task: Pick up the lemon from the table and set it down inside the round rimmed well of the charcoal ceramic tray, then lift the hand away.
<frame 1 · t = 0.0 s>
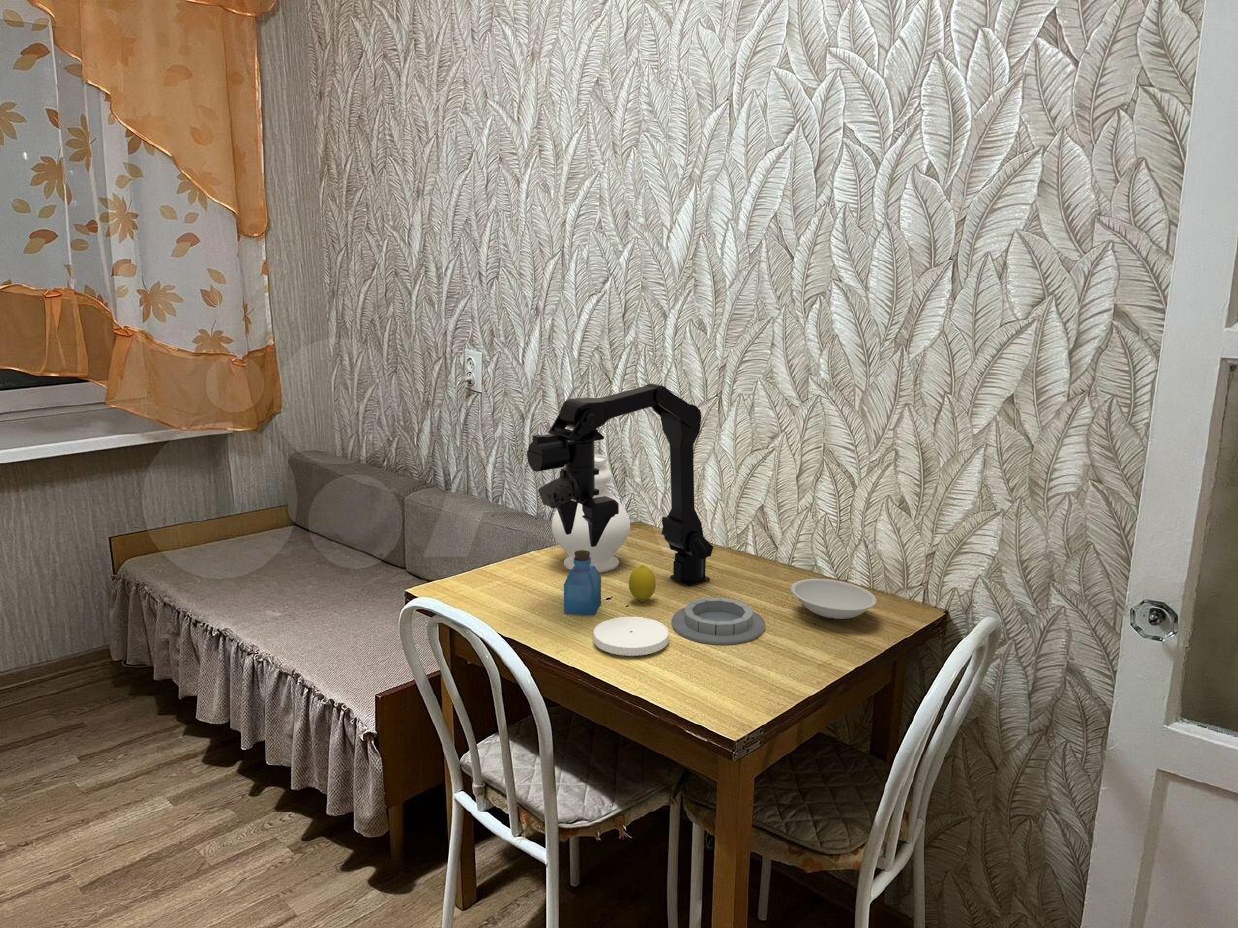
hand: (580, 540, 188), 15 cm above the table, tool pointing down, fingers open, 9 cm apart
plastic lid: (631, 645, 177), on the table
decorative vase: (591, 564, 218), on the table
lemon: (642, 602, 196), on the table
perfume bottle: (582, 609, 192), on the table
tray: (718, 624, 184), on the table
dish: (831, 617, 188), on the table
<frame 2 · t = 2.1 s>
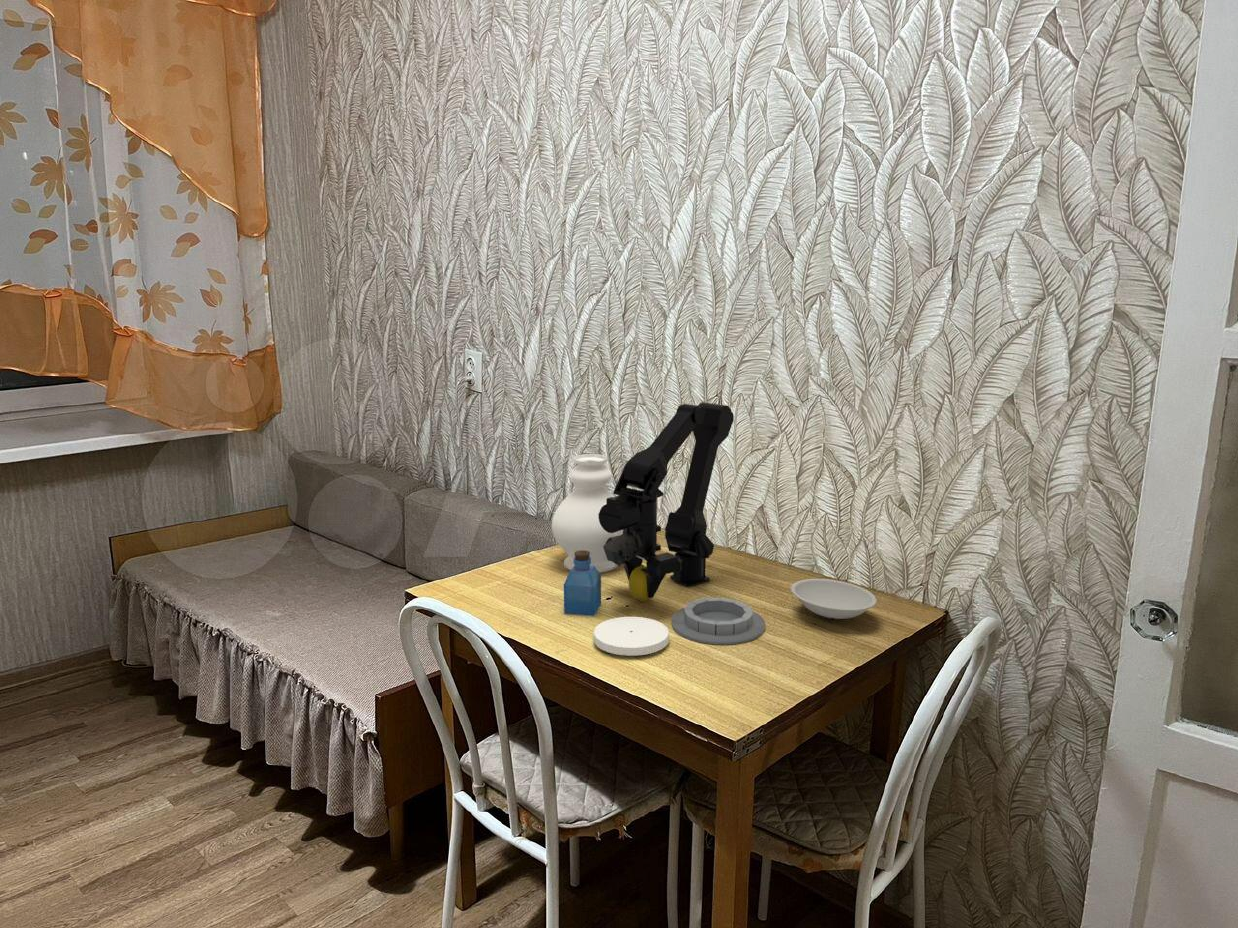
hand: (642, 593, 195), 2 cm above the table, tool pointing down, fingers closed on lemon, 5 cm apart
lemon: (642, 602, 196), on the table, touching gripper
everything else where it was.
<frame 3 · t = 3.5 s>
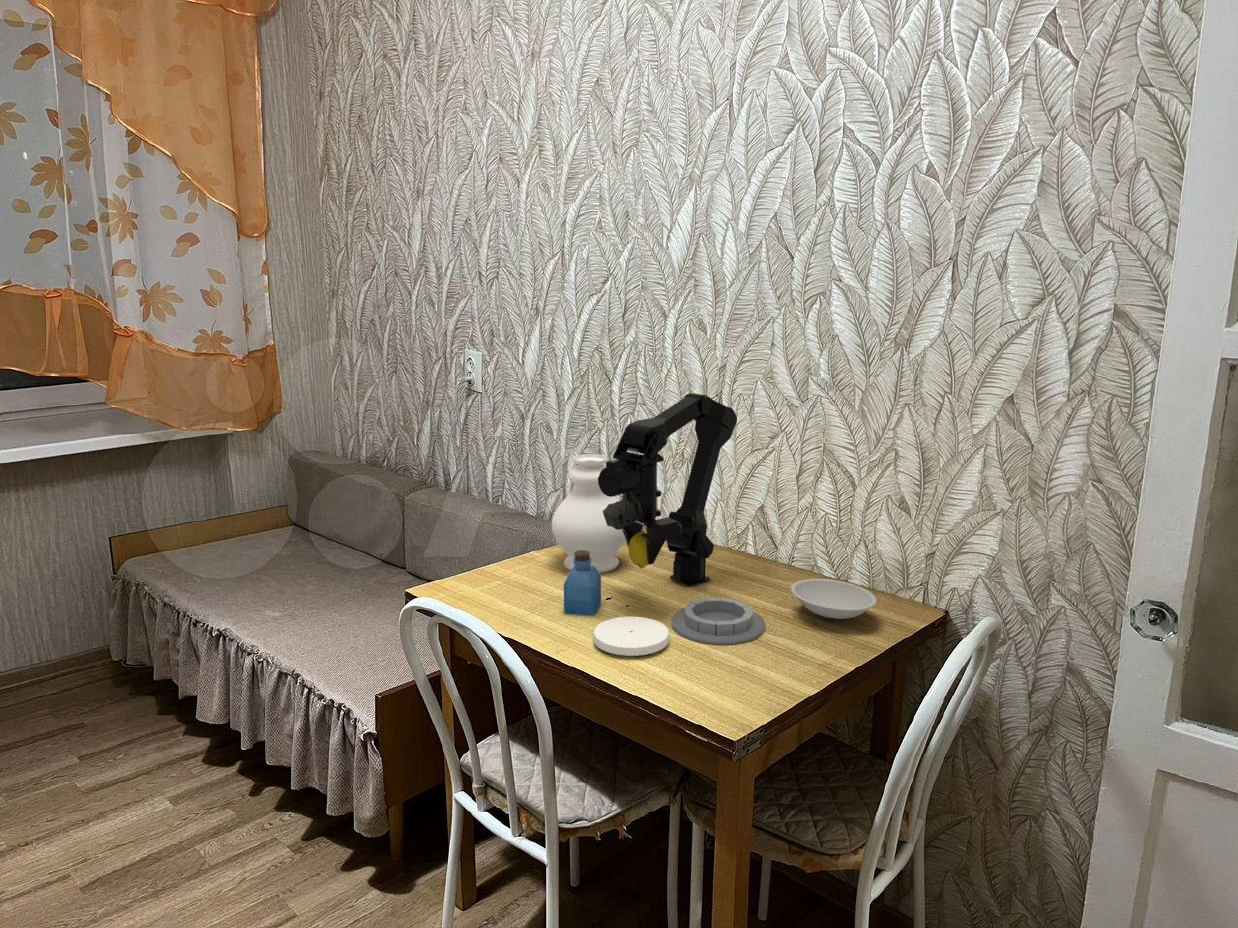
hand: (642, 559, 193), 9 cm above the table, tool pointing down, fingers closed on lemon, 5 cm apart
lemon: (642, 569, 194), point 7 cm above the table, touching gripper
everything else where it was.
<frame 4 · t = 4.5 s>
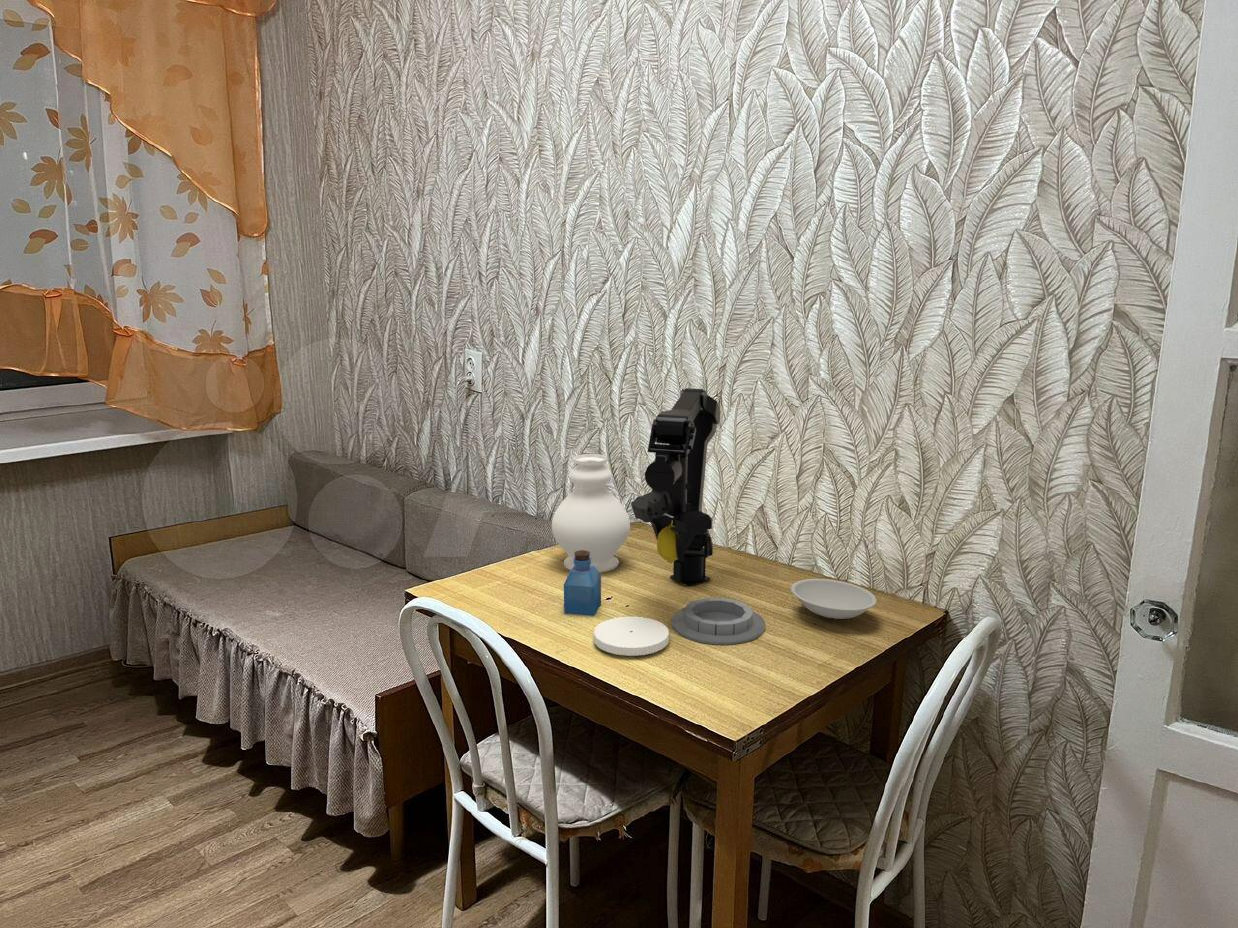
hand: (671, 554, 188), 12 cm above the table, tool pointing down, fingers closed on lemon, 5 cm apart
lemon: (670, 563, 189), point 10 cm above the table, touching gripper
everything else where it was.
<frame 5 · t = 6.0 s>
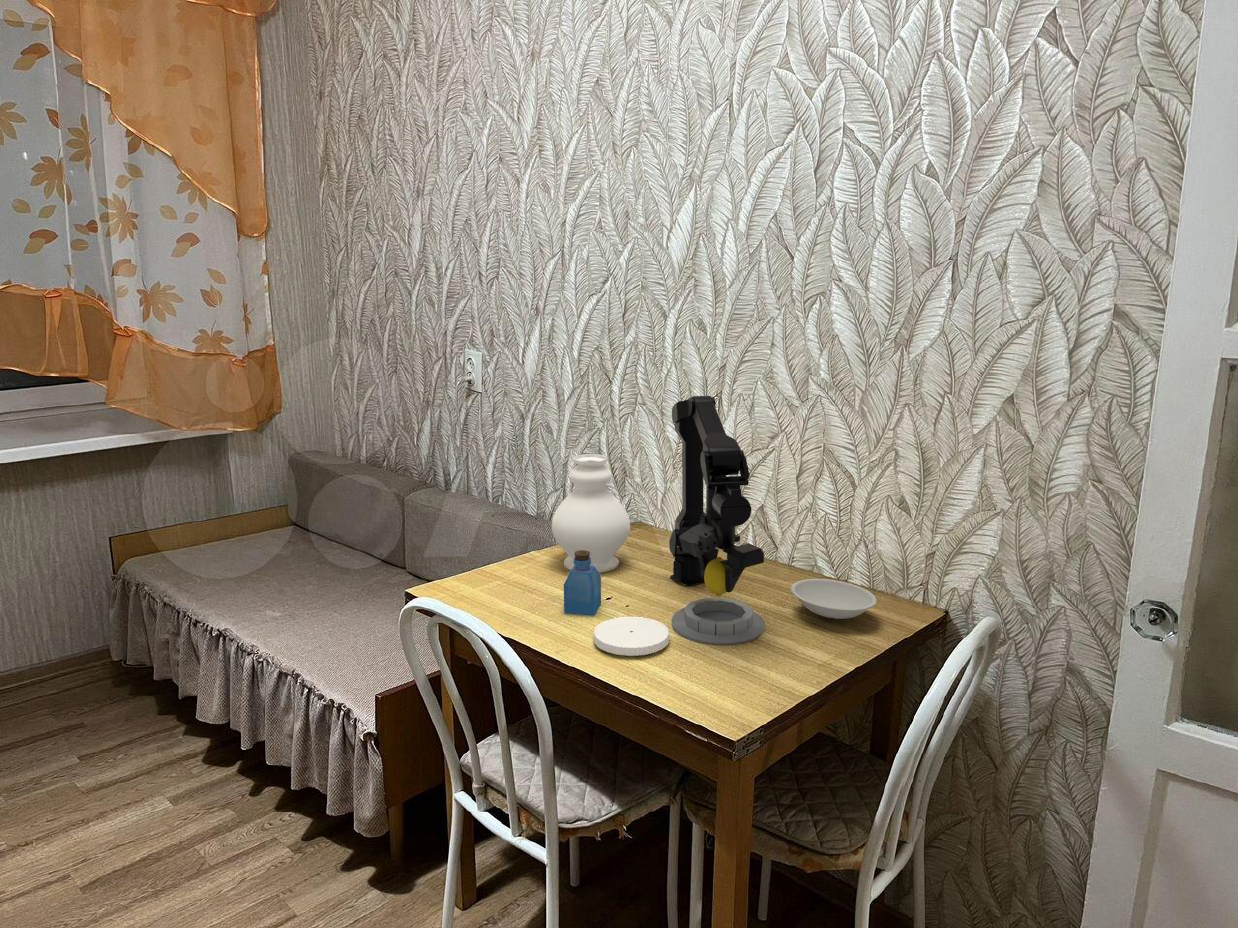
hand: (718, 587, 182), 8 cm above the table, tool pointing down, fingers closed on lemon, 5 cm apart
lemon: (718, 597, 183), point 6 cm above the table, touching gripper
everything else where it was.
when the fingers open (4 cm above the table, at t = 7.1 s): lemon drops 1 cm, resting on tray.
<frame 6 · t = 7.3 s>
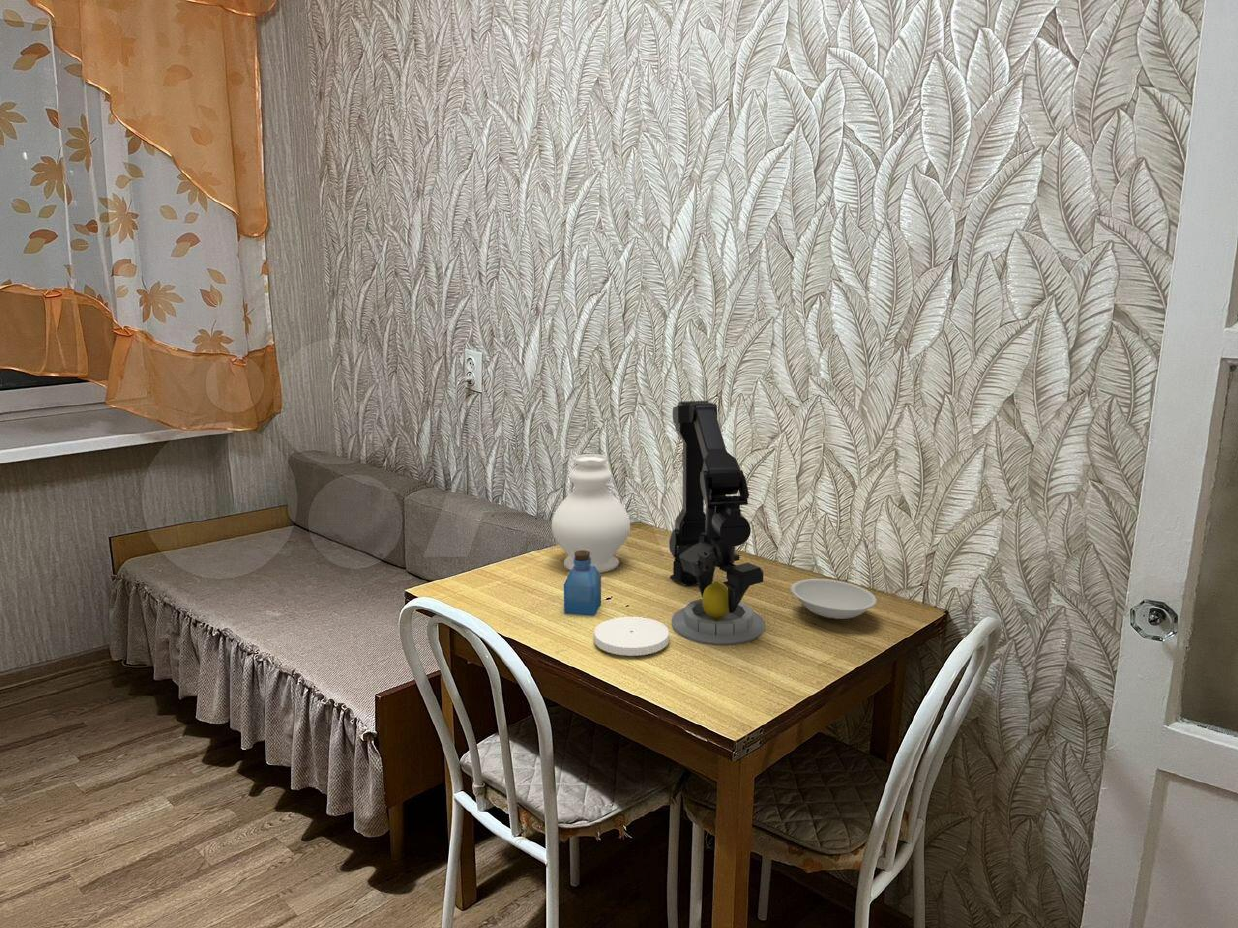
hand: (718, 605, 183), 4 cm above the table, tool pointing down, fingers open, 7 cm apart
lemon: (717, 621, 184), point 1 cm above the table, touching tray
everything else where it was.
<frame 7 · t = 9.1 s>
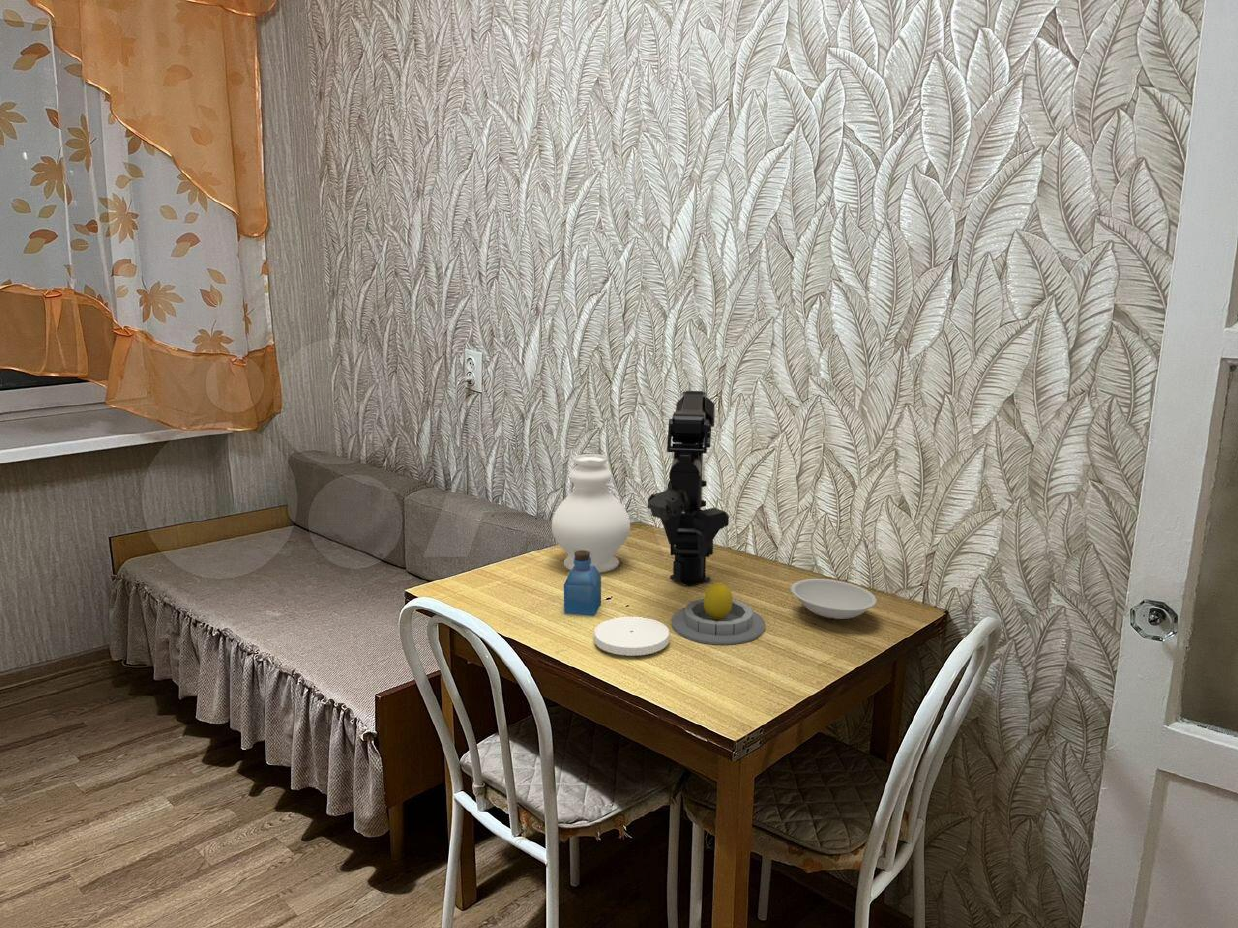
hand: (686, 550, 191), 12 cm above the table, tool pointing down, fingers open, 9 cm apart
nothing on the table moved.
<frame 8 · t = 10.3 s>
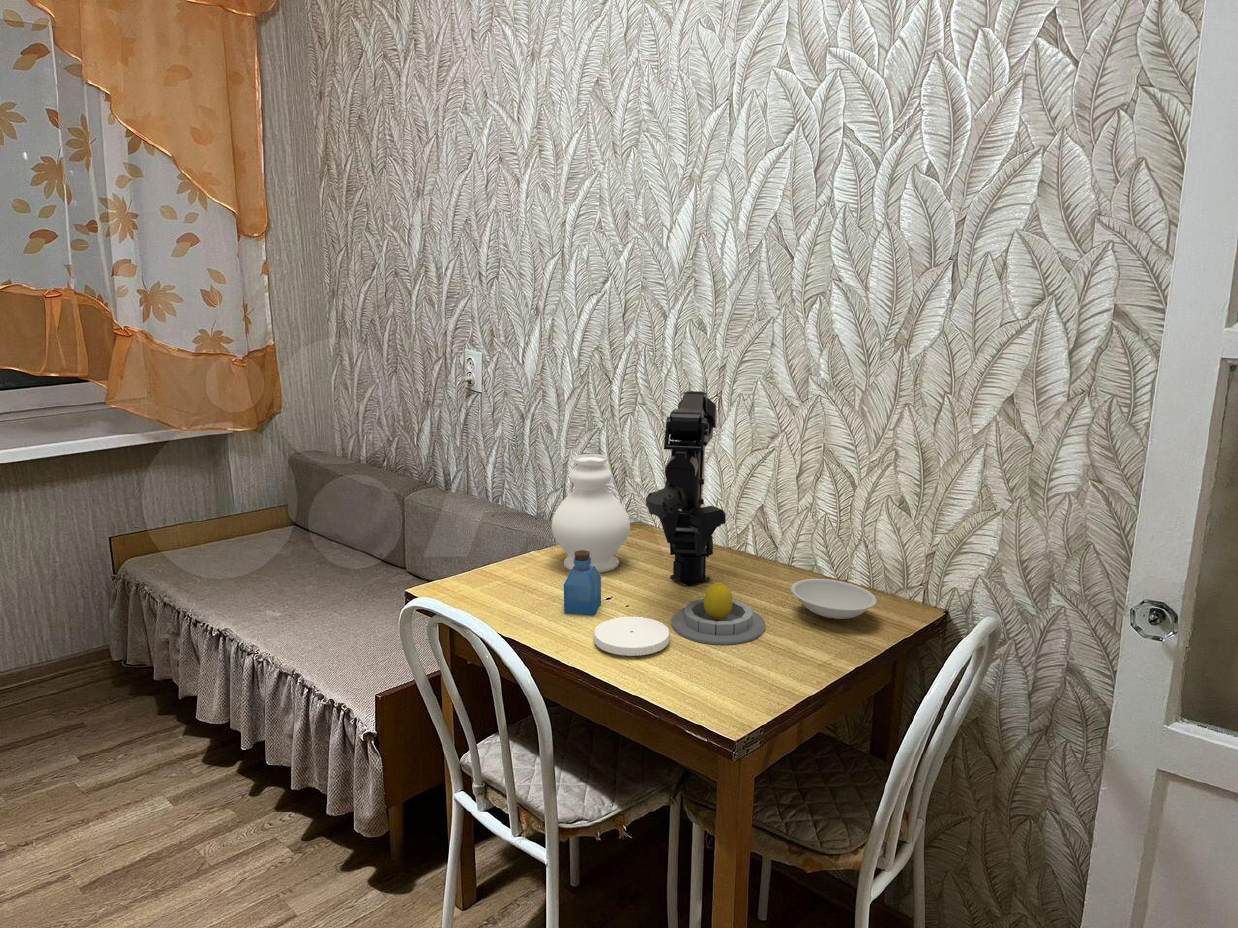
hand: (684, 548, 191), 12 cm above the table, tool pointing down, fingers open, 9 cm apart
nothing on the table moved.
at the end: lemon 0.1 cm off-centre on the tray, point 0.6 cm above the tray's base; the gripper is holding nothing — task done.
